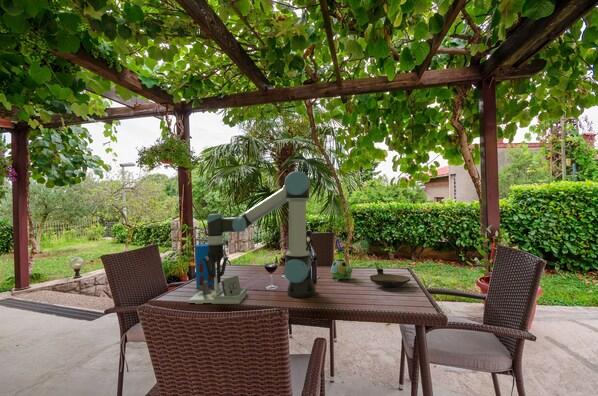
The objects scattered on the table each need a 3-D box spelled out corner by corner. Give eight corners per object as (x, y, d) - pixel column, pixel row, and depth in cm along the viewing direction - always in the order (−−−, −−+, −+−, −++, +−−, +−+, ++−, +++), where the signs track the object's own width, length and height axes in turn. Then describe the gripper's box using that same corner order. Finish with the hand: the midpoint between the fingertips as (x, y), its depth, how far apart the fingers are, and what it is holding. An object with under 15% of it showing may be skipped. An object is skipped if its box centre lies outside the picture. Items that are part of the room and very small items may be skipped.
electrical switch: (227, 297, 151) (225, 279, 152) (221, 297, 154) (219, 279, 155) (241, 293, 158) (240, 275, 159) (235, 292, 162) (234, 275, 162)
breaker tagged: (207, 295, 155) (207, 280, 155) (205, 297, 152) (205, 282, 152) (205, 295, 155) (204, 280, 155) (202, 297, 152) (202, 282, 152)
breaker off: (212, 289, 162) (199, 285, 162) (210, 291, 159) (197, 286, 159) (211, 292, 162) (198, 287, 162) (209, 293, 159) (196, 289, 159)
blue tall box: (218, 285, 182) (216, 244, 182) (202, 289, 174) (200, 246, 174) (208, 282, 189) (207, 243, 190) (192, 286, 182) (191, 245, 182)
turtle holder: (341, 284, 175) (341, 264, 176) (327, 277, 192) (327, 259, 192) (359, 281, 180) (358, 262, 180) (344, 275, 197) (343, 257, 197)
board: (246, 294, 163) (246, 287, 163) (239, 303, 148) (239, 296, 148) (200, 294, 165) (200, 288, 165) (188, 303, 150) (188, 296, 150)
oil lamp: (369, 291, 161) (369, 277, 161) (369, 277, 190) (369, 265, 190) (413, 293, 156) (413, 278, 156) (406, 278, 185) (406, 265, 185)
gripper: (230, 242, 157) (231, 287, 156) (206, 242, 158) (207, 287, 158) (225, 244, 149) (226, 291, 149) (200, 245, 150) (201, 291, 150)
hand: (216, 289), depth 153 cm, fingers closed
